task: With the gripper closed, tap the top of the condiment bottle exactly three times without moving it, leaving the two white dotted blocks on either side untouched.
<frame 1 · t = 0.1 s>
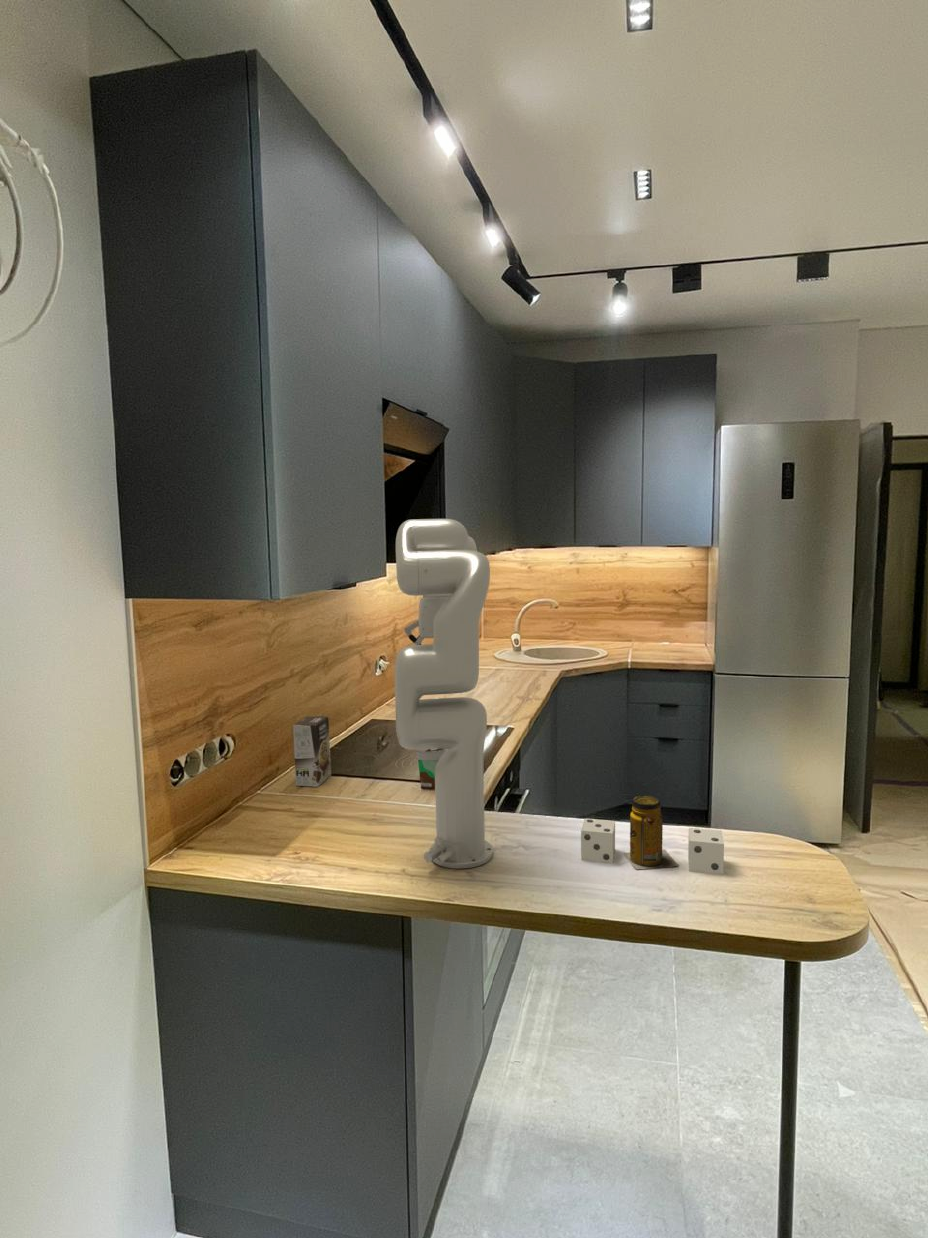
hand: (439, 659, 183), 31 cm above the table, tool pointing down, fingers open, 9 cm apart
condiment: (650, 861, 139), on the table
three dot block: (598, 855, 141), on the table
two dot block: (705, 866, 136), on the table
coffee box: (314, 781, 188), on the table
food container: (442, 786, 182), on the table
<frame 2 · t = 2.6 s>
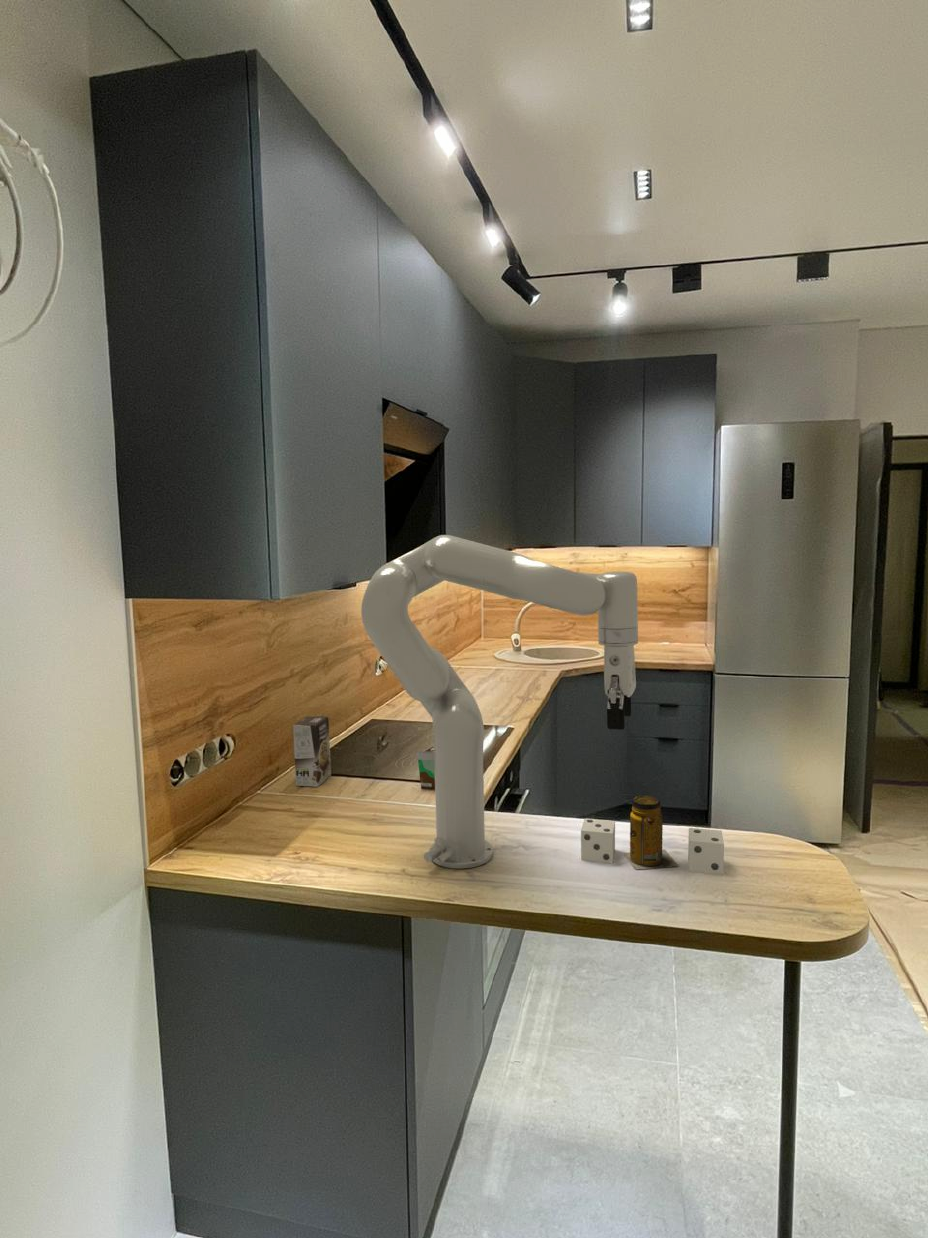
hand: (619, 722, 142), 26 cm above the table, tool pointing down, fingers open, 9 cm apart
nothing on the table moved.
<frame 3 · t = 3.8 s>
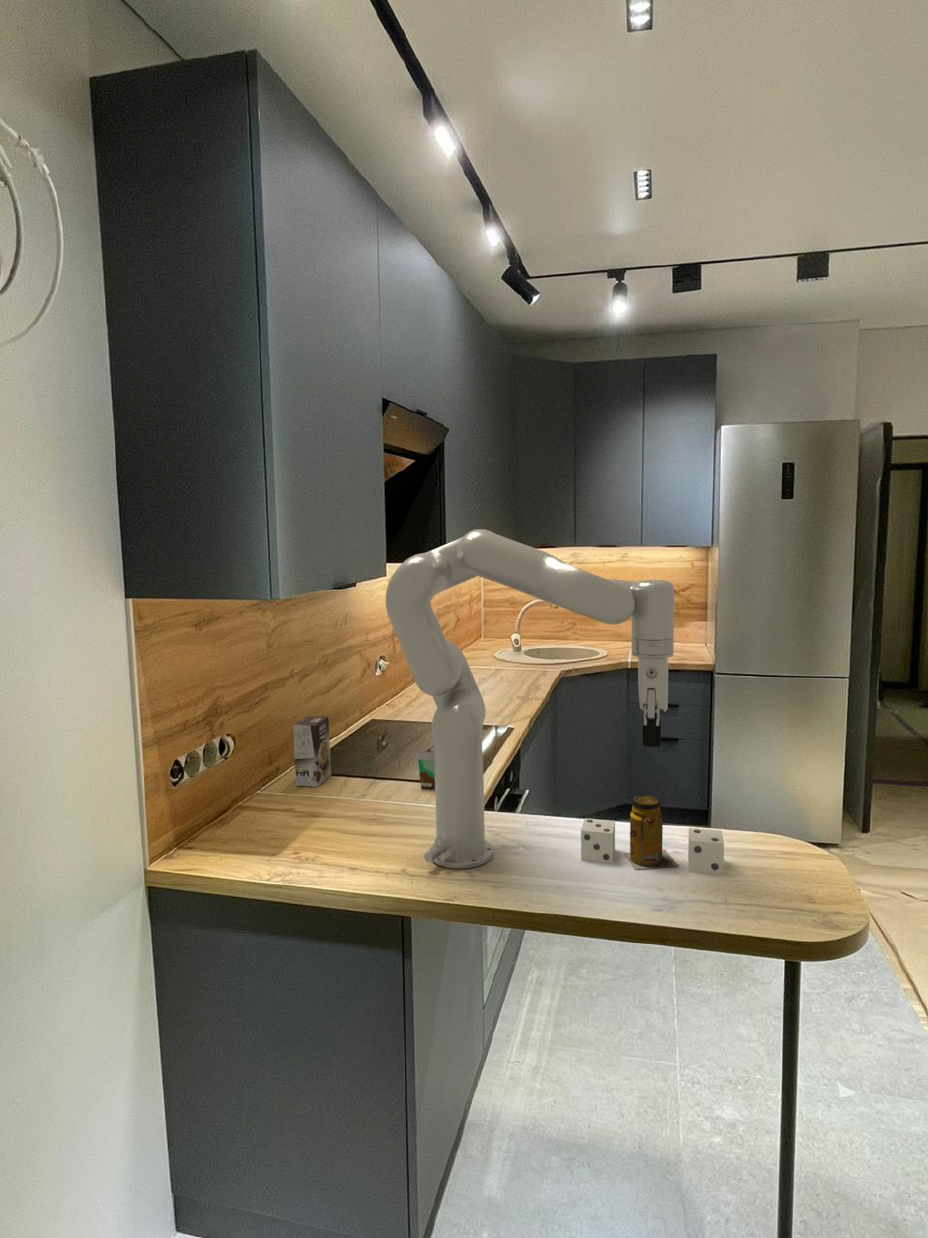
hand: (651, 742, 136), 23 cm above the table, tool pointing down, fingers closed
nothing on the table moved.
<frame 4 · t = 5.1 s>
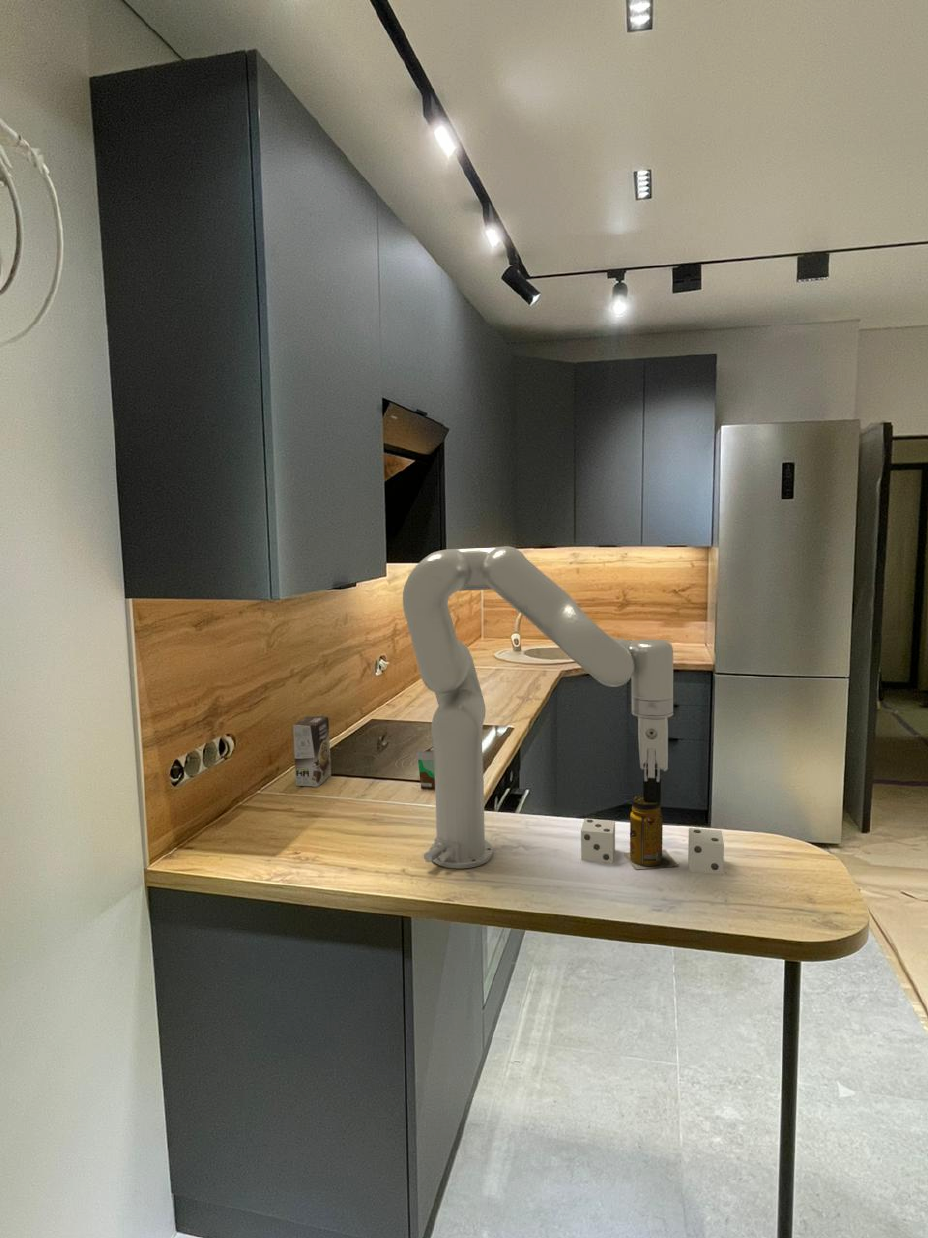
hand: (652, 800, 137), 12 cm above the table, tool pointing down, fingers closed
condiment: (650, 861, 139), on the table, touching gripper
everything else where it was.
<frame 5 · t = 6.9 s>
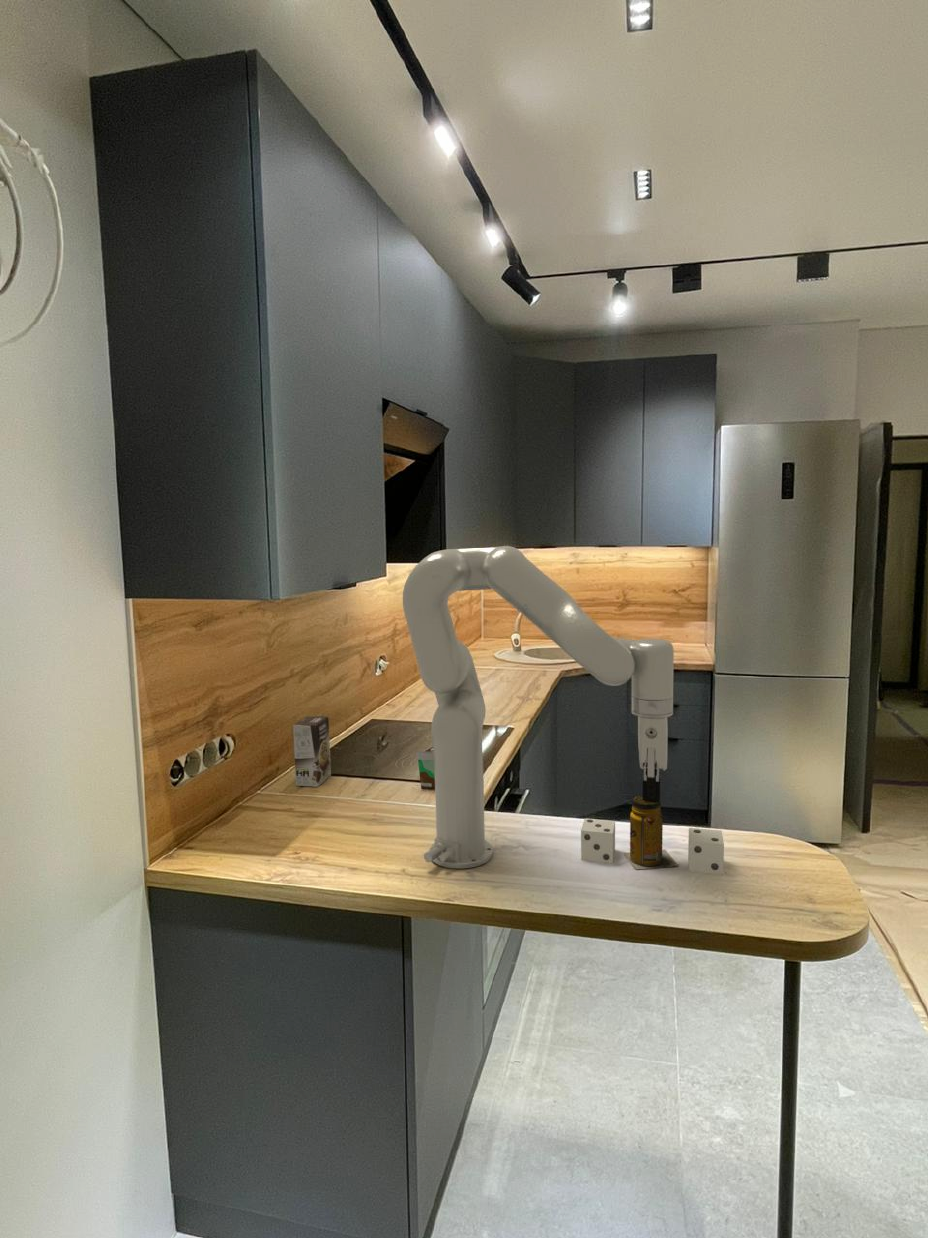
hand: (651, 799, 137), 12 cm above the table, tool pointing down, fingers closed
condiment: (650, 861, 139), on the table
everything else where it was.
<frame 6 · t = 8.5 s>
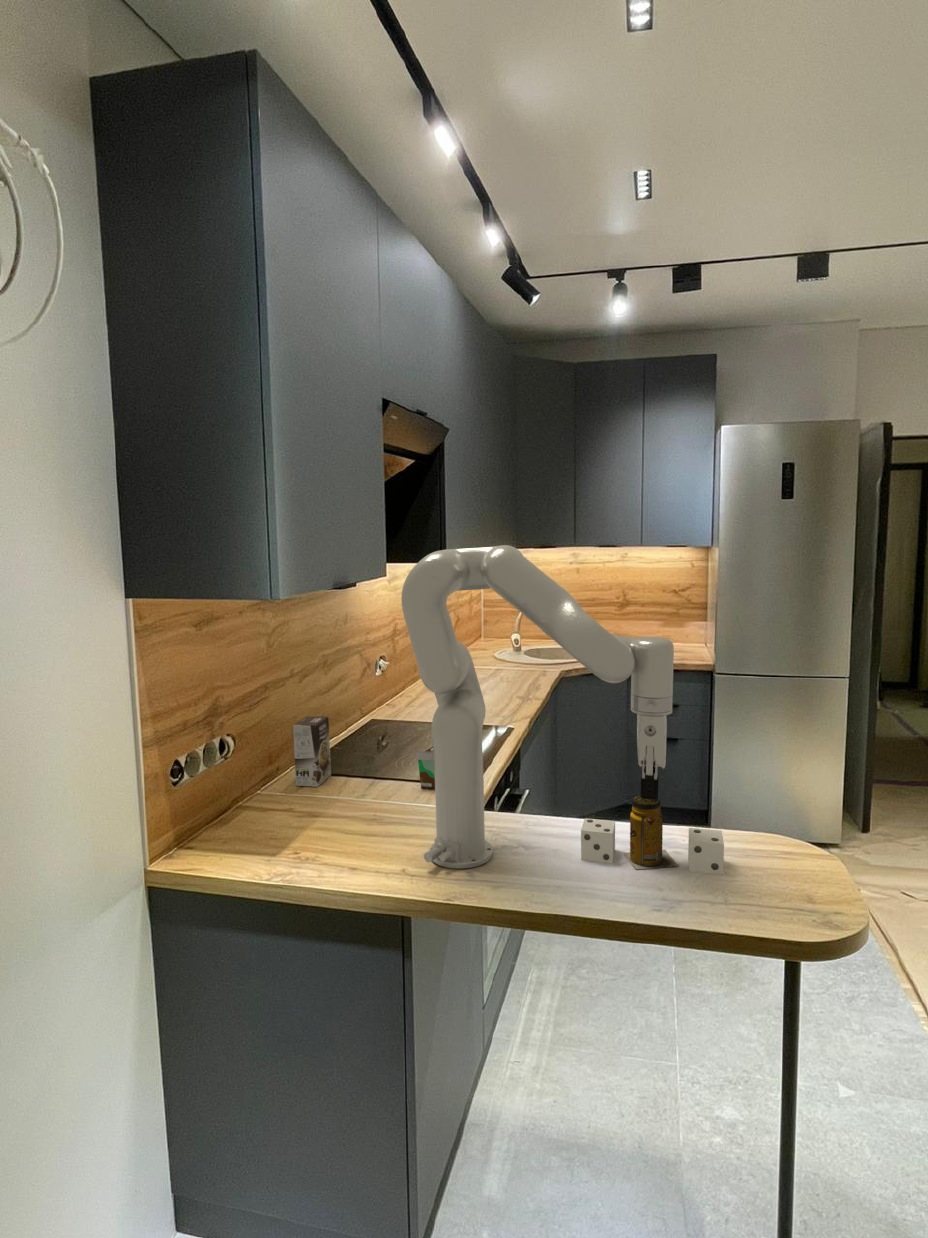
hand: (649, 797, 137), 12 cm above the table, tool pointing down, fingers closed
nothing on the table moved.
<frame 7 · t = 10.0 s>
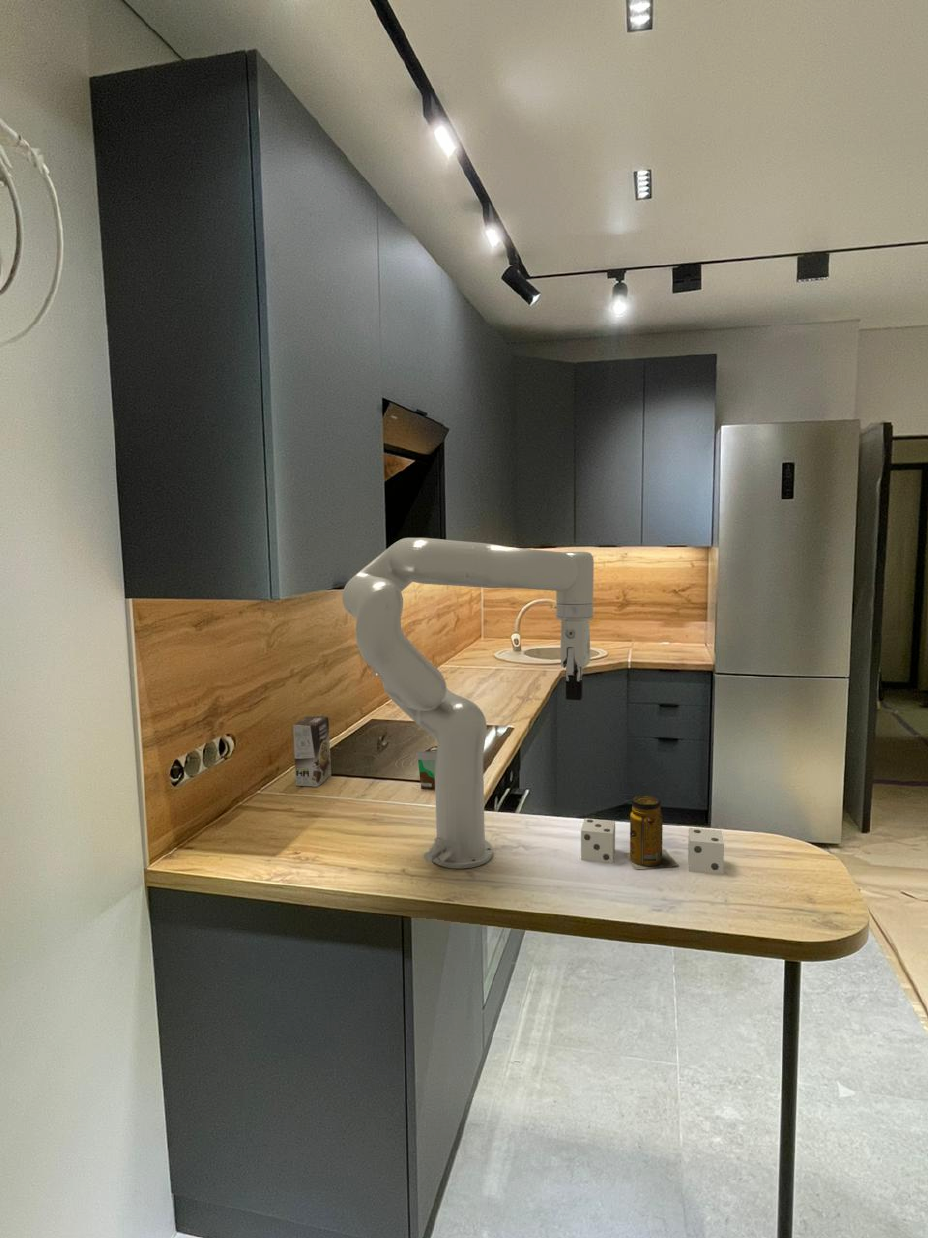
hand: (574, 698, 151), 28 cm above the table, tool pointing down, fingers closed
nothing on the table moved.
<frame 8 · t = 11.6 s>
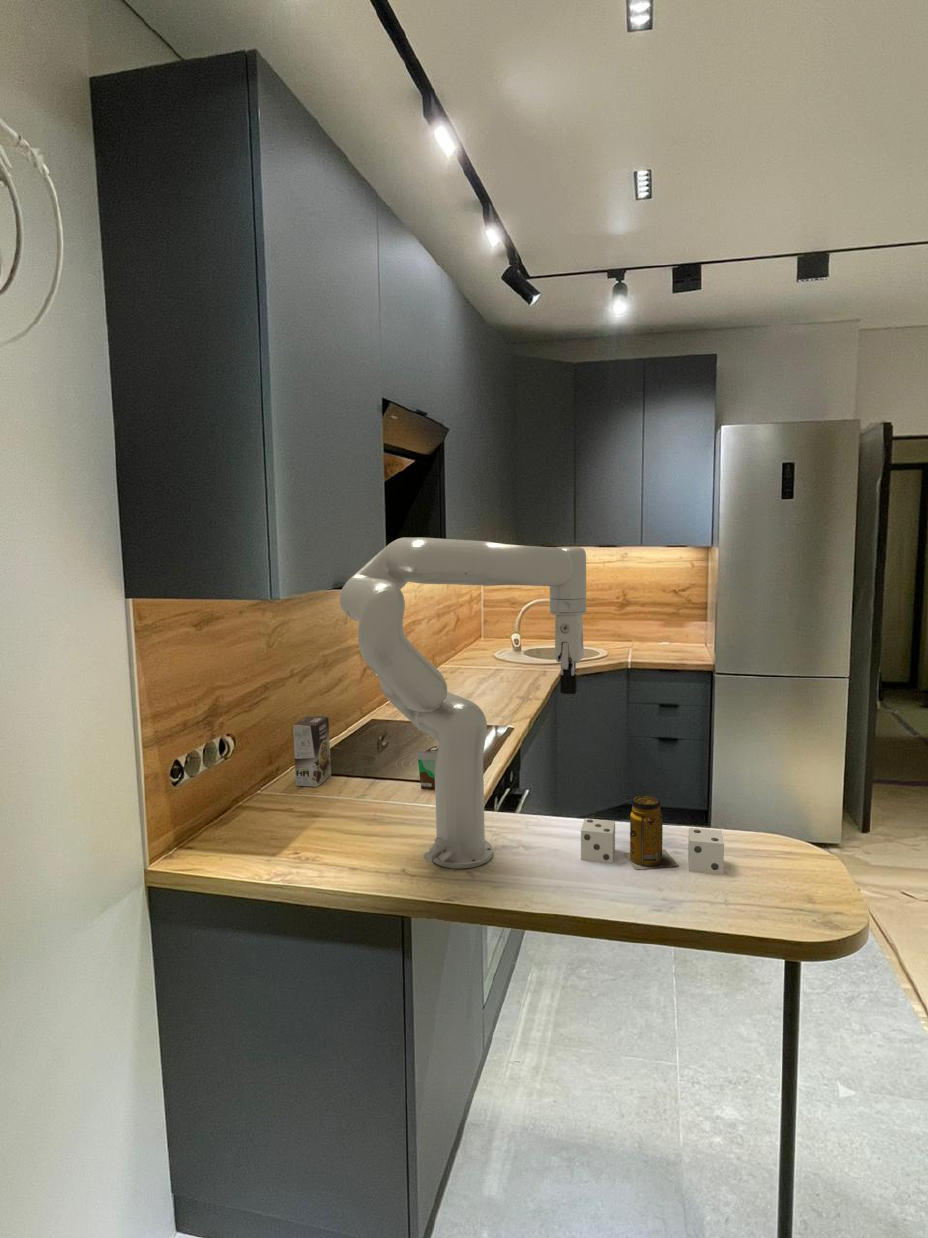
hand: (568, 692, 152), 29 cm above the table, tool pointing down, fingers closed
nothing on the table moved.
at the end: condiment moved 0.3 cm from its start; condiment tilted 0°; three dot block moved 0.1 cm from its start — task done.
